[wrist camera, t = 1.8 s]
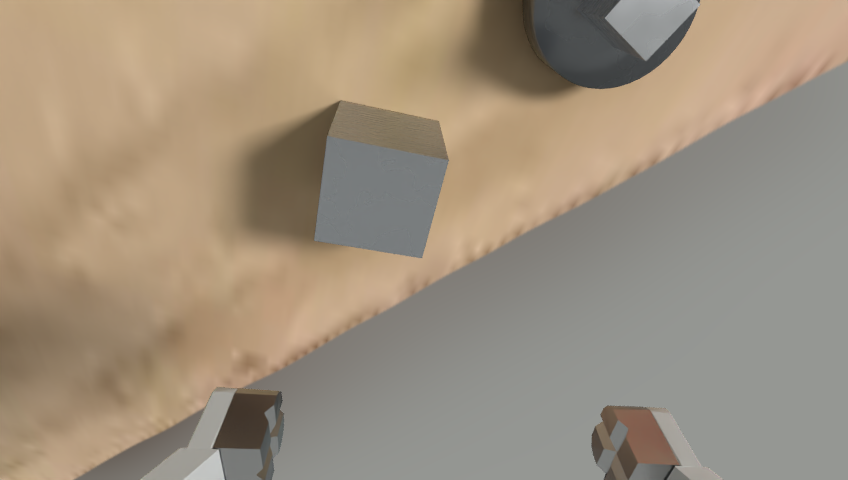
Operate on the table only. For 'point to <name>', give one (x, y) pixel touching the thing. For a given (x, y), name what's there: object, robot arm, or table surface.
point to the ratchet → (606, 37)
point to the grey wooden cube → (380, 180)
